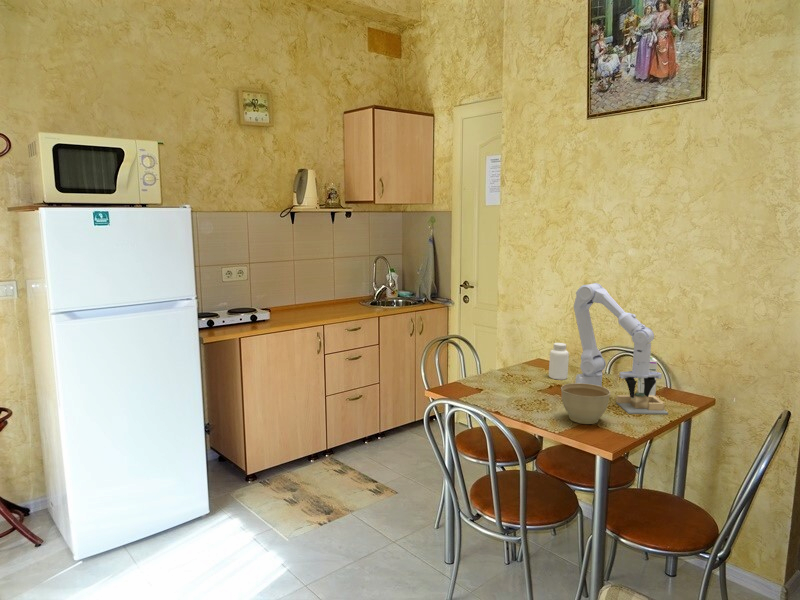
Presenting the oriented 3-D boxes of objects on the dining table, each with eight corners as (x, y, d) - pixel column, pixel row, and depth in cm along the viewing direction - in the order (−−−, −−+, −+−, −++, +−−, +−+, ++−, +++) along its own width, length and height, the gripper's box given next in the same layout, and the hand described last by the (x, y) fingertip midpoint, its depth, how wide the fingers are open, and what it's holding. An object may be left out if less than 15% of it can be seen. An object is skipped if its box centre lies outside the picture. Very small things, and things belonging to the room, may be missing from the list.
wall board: (628, 413, 199) (629, 405, 198) (616, 402, 211) (616, 394, 210) (668, 414, 199) (668, 406, 198) (653, 403, 211) (654, 395, 210)
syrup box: (655, 396, 219) (658, 360, 216) (639, 395, 220) (642, 359, 218) (652, 392, 224) (654, 357, 222) (636, 391, 225) (639, 356, 223)
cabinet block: (635, 408, 203) (636, 394, 202) (630, 404, 207) (631, 391, 207) (647, 408, 203) (648, 395, 202) (642, 404, 207) (643, 391, 207)
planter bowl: (615, 419, 193) (617, 389, 192) (596, 432, 181) (598, 400, 180) (571, 408, 204) (573, 379, 202) (551, 420, 192) (552, 389, 190)
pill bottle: (567, 380, 239) (569, 346, 237) (548, 379, 241) (549, 345, 239) (567, 375, 247) (569, 342, 244) (548, 374, 249) (550, 341, 247)
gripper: (625, 363, 199) (623, 400, 201) (666, 364, 199) (663, 400, 201) (618, 358, 206) (616, 394, 208) (657, 359, 206) (655, 394, 208)
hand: (638, 397), depth 205 cm, fingers closed on cabinet block, 4 cm apart
